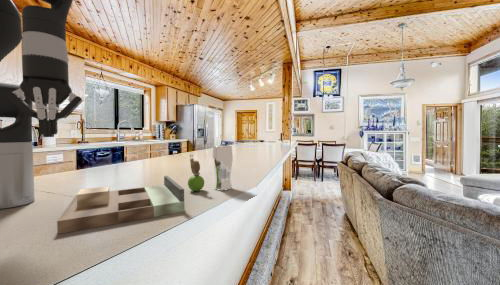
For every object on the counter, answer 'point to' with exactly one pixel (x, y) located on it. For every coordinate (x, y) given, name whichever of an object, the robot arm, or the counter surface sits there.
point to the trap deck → (124, 207)
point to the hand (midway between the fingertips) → (48, 136)
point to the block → (93, 196)
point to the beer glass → (222, 166)
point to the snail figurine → (195, 176)
